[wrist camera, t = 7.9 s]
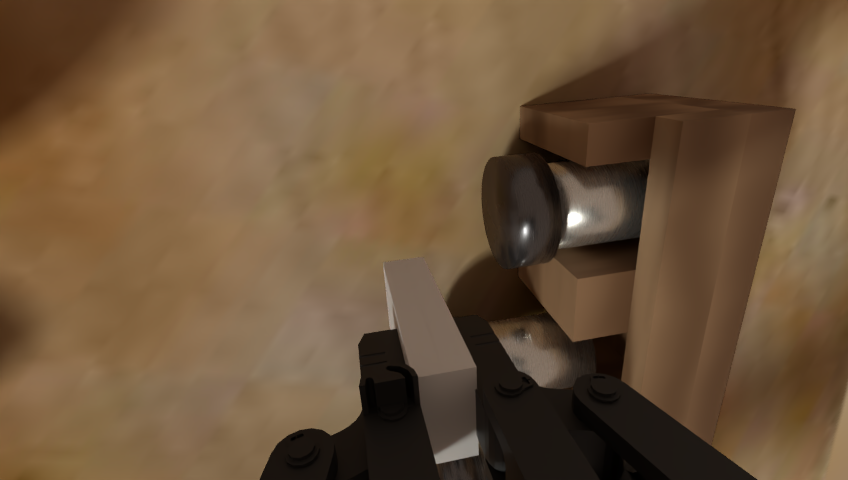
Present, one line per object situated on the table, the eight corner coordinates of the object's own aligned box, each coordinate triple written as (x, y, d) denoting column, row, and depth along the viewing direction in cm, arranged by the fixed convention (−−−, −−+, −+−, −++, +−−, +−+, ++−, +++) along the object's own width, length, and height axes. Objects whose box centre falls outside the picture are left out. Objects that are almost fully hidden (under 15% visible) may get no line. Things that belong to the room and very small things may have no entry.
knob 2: (482, 243, 26) (518, 289, 20) (480, 147, 23) (520, 171, 18) (621, 223, 27) (688, 262, 22) (631, 130, 24) (708, 149, 19)
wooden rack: (515, 454, 35) (569, 574, 27) (520, 106, 25) (611, 129, 16) (607, 434, 36) (686, 544, 28) (650, 93, 26) (795, 108, 17)
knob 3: (426, 378, 28) (445, 447, 23) (419, 304, 26) (439, 362, 21) (553, 355, 30) (597, 416, 25) (557, 282, 27) (606, 333, 22)
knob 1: (435, 475, 32) (453, 554, 27) (429, 417, 30) (448, 491, 25) (548, 451, 33) (586, 522, 28) (551, 394, 31) (593, 459, 26)
